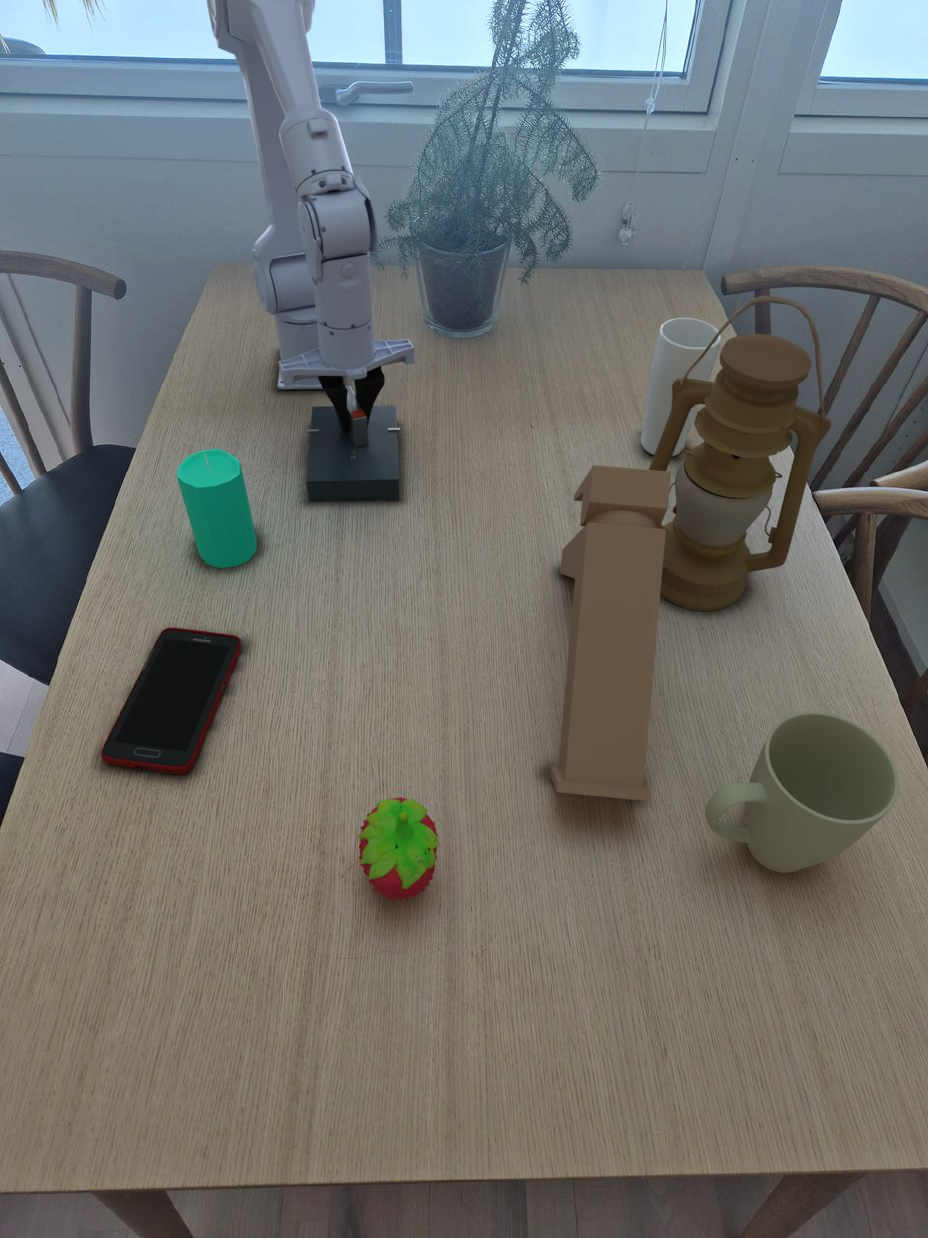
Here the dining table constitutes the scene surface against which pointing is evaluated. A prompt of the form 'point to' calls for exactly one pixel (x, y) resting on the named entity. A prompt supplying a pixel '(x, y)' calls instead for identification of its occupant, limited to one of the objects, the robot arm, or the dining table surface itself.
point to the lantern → (736, 463)
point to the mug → (809, 792)
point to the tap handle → (356, 420)
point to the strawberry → (398, 848)
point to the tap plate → (352, 458)
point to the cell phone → (173, 701)
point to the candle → (218, 507)
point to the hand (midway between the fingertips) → (353, 426)
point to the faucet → (612, 632)
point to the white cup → (676, 374)
